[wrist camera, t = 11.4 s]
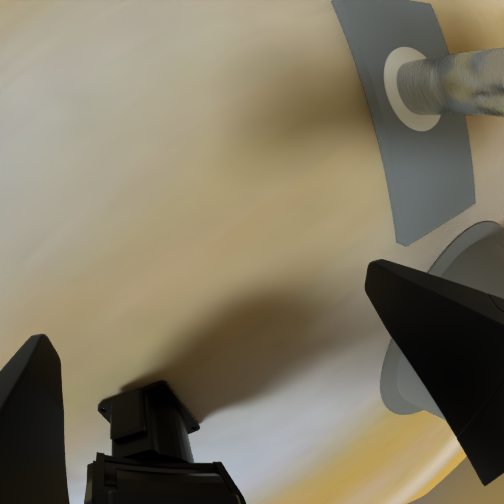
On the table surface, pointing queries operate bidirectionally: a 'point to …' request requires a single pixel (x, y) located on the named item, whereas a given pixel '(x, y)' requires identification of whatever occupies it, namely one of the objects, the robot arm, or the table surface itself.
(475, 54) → the metal pin
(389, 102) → the mat
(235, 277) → the table surface
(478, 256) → the grey tapered cylinder
